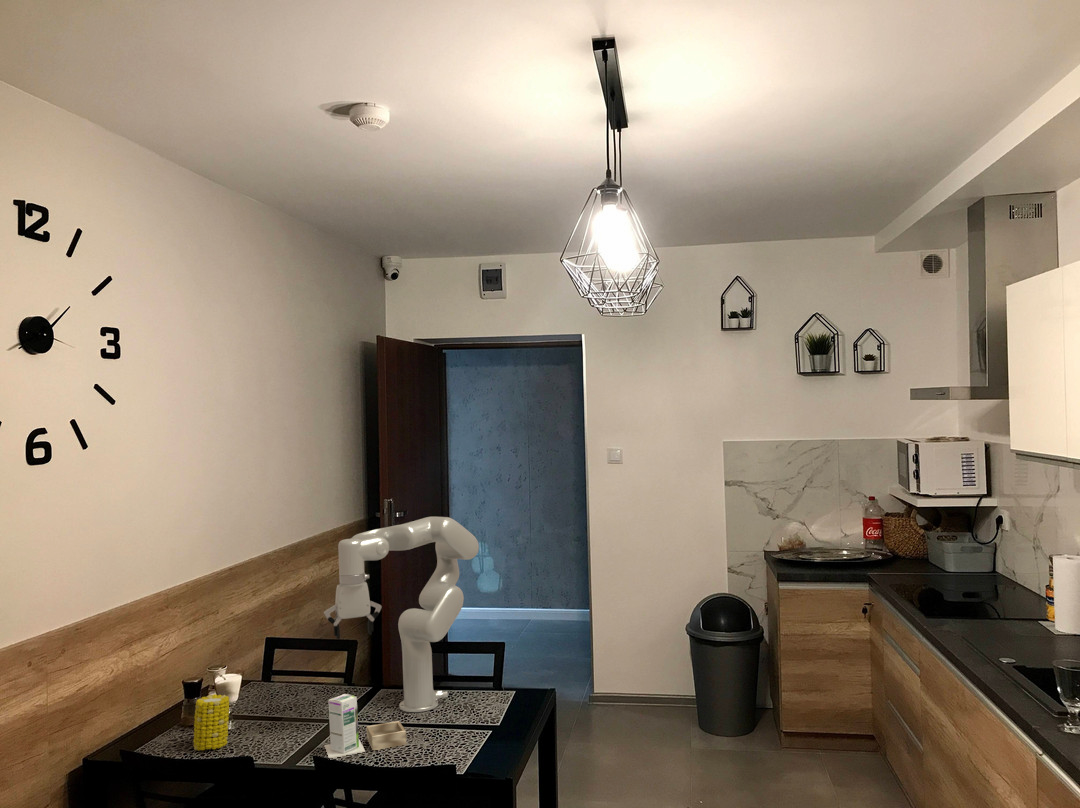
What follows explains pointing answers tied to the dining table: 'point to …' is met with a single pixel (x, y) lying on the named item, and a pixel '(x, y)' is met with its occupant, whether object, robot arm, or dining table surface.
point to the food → (211, 722)
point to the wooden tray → (386, 735)
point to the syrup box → (343, 723)
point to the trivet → (336, 754)
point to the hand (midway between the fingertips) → (353, 636)
